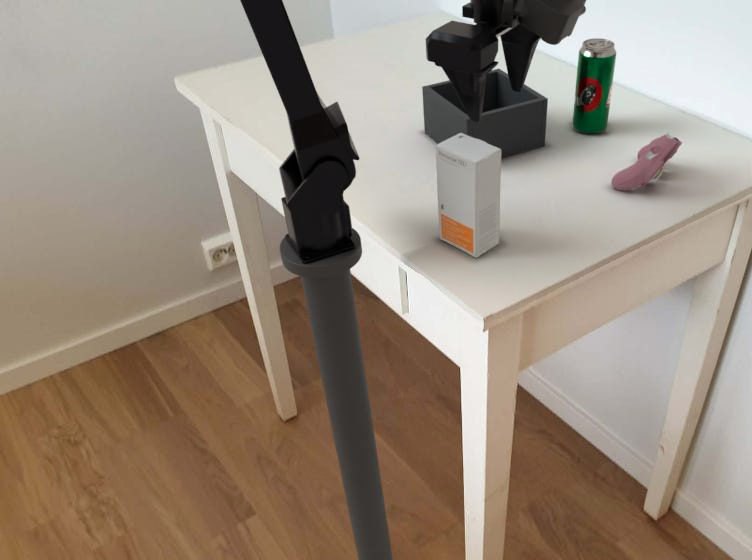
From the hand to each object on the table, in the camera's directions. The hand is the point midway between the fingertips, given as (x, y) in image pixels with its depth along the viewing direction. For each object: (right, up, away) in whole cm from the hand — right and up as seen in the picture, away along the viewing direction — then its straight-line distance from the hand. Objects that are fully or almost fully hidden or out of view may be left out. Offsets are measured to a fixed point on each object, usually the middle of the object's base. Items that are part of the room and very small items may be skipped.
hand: (496, 105), depth 80 cm
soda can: (+15, +6, +26) cm, 31 cm away
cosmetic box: (-3, -15, +4) cm, 15 cm away
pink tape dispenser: (+20, -5, +15) cm, 25 cm away
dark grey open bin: (-1, +4, +24) cm, 24 cm away
